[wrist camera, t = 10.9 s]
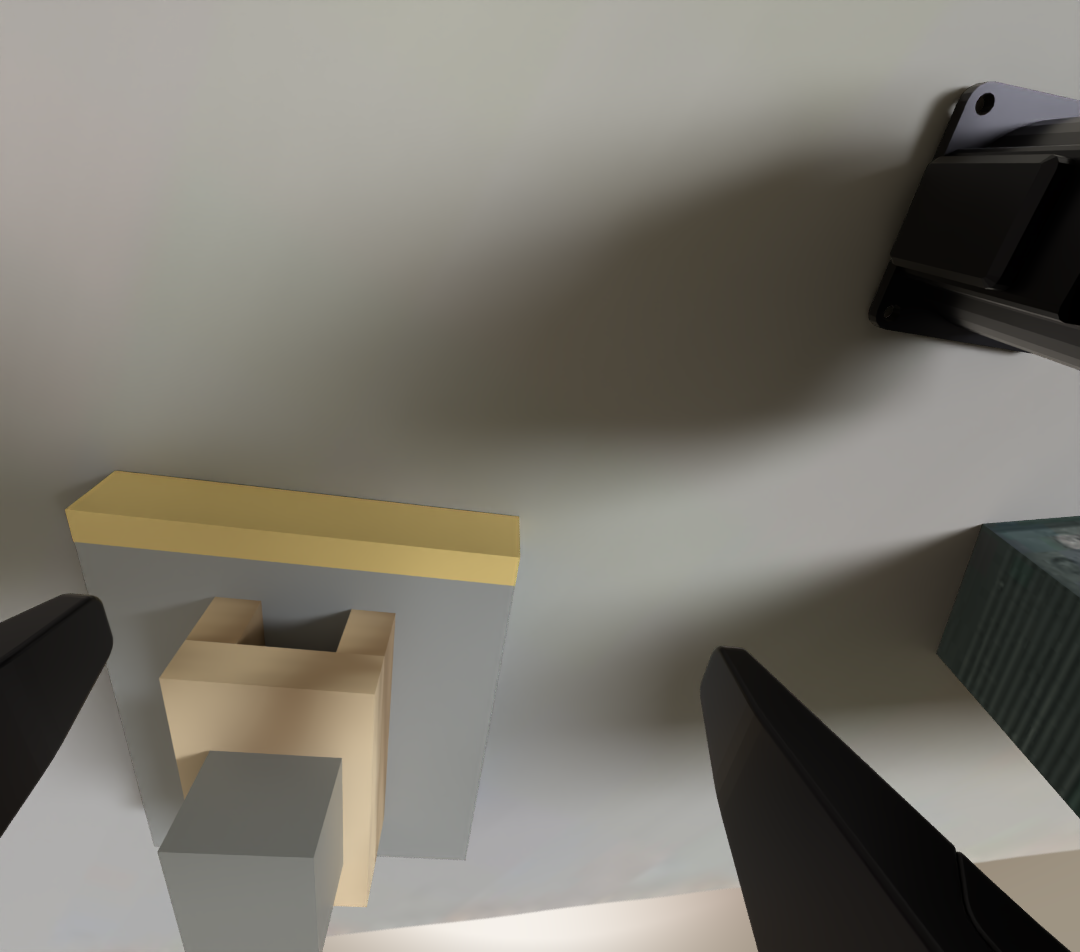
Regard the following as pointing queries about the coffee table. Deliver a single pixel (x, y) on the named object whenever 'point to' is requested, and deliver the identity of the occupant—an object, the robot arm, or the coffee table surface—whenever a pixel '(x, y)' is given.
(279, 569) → the dock
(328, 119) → the coffee table surface
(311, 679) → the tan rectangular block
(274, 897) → the gray rectangular block
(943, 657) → the cassette player
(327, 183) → the coffee table surface
